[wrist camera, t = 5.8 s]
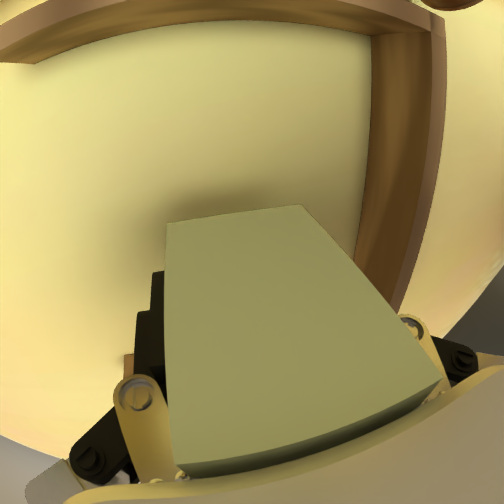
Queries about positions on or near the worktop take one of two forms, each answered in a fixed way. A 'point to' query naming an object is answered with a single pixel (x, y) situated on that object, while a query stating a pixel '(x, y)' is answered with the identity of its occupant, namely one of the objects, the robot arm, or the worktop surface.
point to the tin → (450, 4)
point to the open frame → (382, 103)
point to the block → (277, 344)
